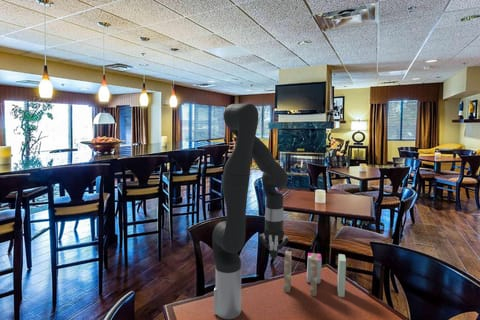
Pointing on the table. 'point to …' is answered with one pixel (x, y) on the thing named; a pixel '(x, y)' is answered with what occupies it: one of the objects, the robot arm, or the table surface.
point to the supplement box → (317, 268)
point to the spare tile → (341, 275)
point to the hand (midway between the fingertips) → (273, 258)
